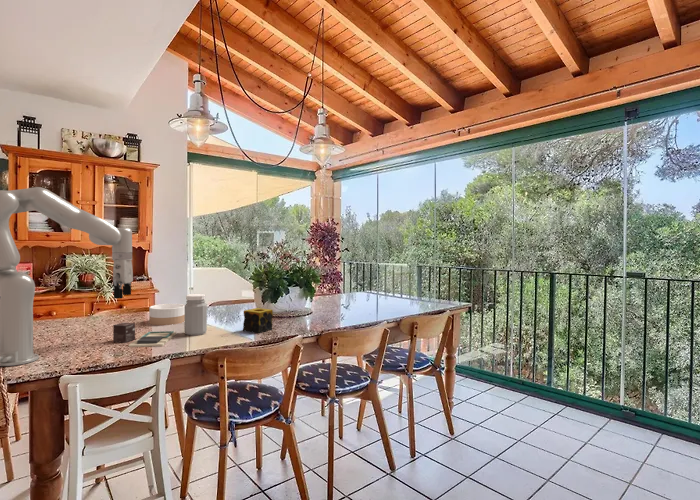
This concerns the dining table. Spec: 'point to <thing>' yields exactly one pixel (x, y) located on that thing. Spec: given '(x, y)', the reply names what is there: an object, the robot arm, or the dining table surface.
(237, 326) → the dining table surface
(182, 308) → the bowl
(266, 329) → the candle
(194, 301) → the jar
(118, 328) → the box
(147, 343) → the stamp board
